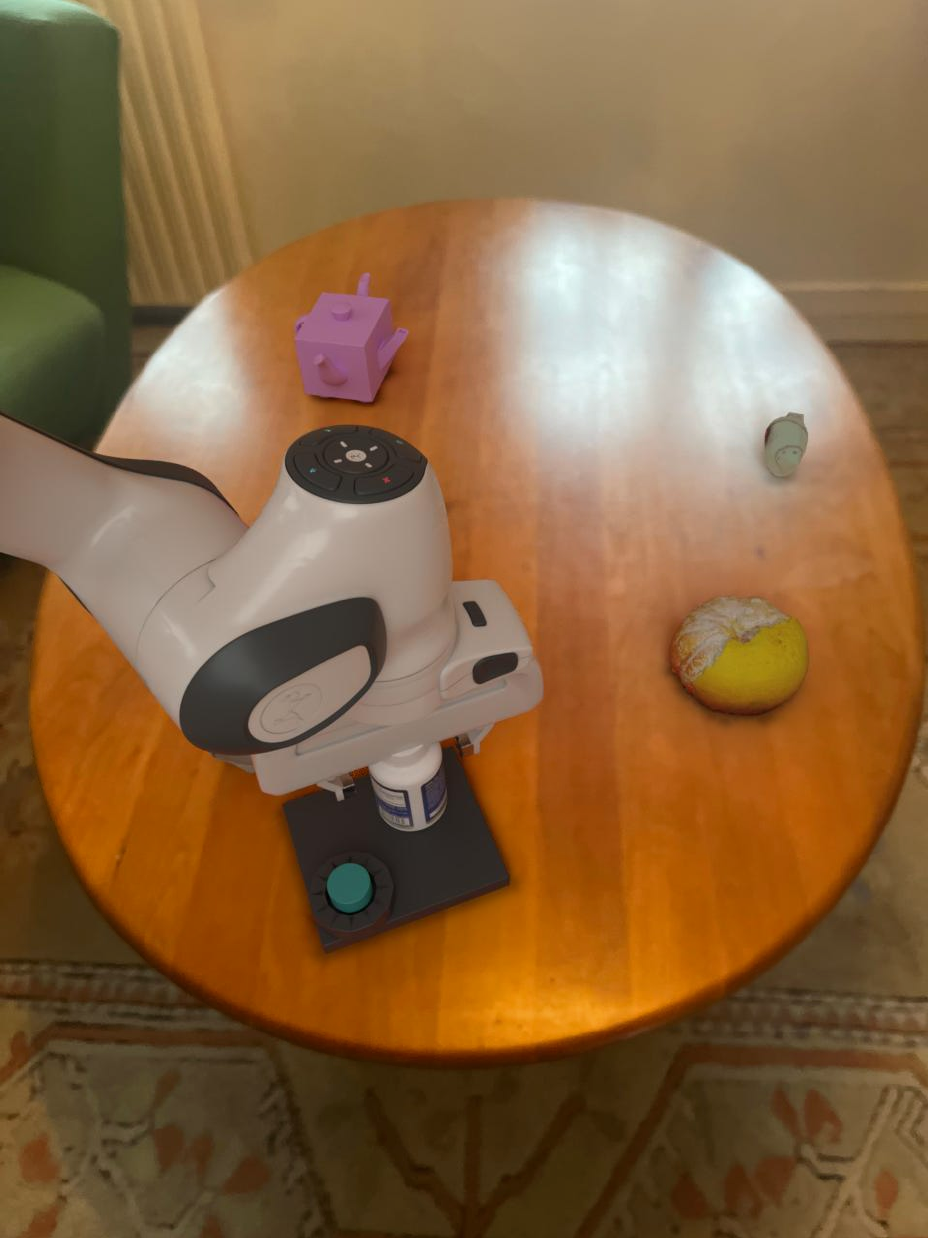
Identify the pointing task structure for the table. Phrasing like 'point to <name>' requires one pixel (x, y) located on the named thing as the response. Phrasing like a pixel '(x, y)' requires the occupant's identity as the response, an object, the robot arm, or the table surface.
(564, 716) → the table surface
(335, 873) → the button
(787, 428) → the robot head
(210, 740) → the robot arm
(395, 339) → the teapot
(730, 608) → the fruit
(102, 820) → the table surface
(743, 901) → the table surface
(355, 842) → the black button board
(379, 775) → the pill bottle
